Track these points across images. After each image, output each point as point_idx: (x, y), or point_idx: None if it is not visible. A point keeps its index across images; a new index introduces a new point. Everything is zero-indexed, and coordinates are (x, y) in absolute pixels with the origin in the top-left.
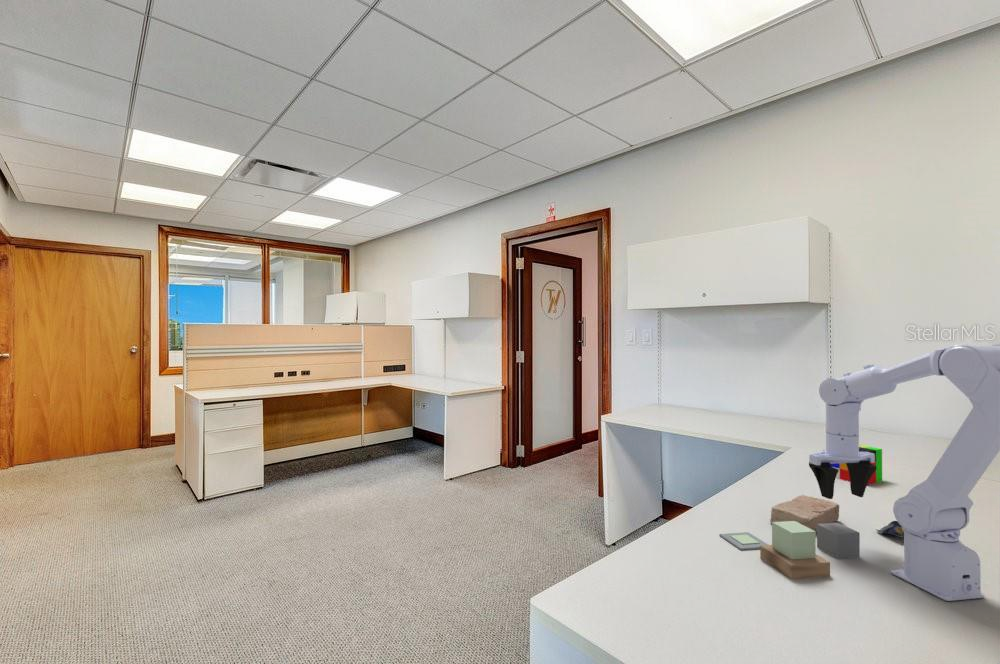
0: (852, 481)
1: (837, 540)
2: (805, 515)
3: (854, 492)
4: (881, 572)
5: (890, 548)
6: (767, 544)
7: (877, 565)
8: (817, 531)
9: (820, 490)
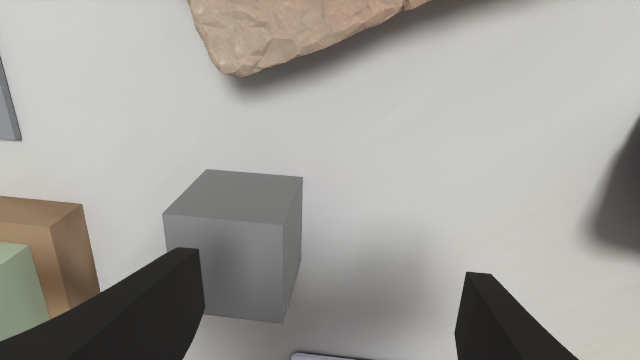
0: (504, 358)
1: None
2: (251, 37)
3: (466, 307)
4: (273, 338)
5: (498, 240)
6: (8, 124)
7: (304, 310)
8: (179, 199)
9: (150, 265)
